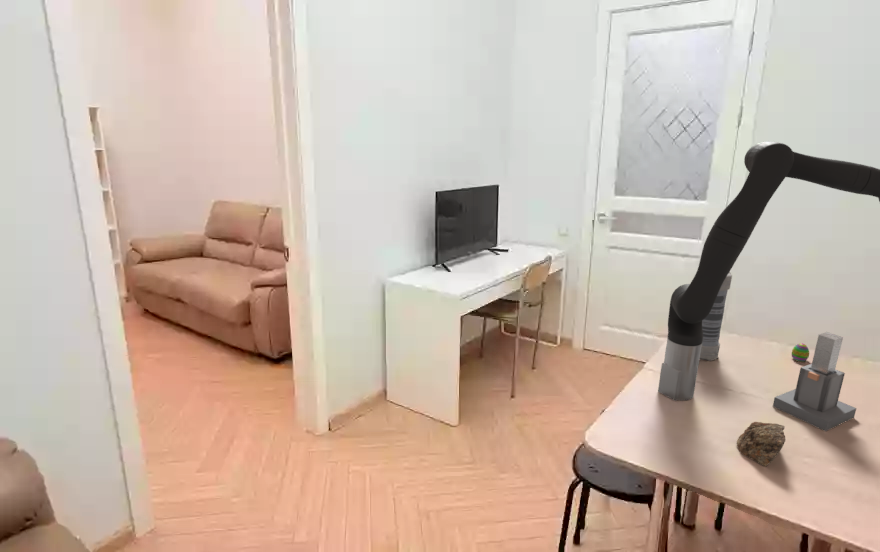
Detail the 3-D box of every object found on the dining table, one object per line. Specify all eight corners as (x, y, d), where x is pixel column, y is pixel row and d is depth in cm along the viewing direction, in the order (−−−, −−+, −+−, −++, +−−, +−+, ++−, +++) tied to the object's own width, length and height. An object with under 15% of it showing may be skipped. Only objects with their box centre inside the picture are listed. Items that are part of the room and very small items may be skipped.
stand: (825, 431, 140) (836, 387, 136) (772, 406, 152) (781, 365, 148) (853, 417, 147) (865, 375, 143) (801, 394, 158) (810, 355, 154)
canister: (720, 362, 178) (735, 277, 170) (687, 358, 181) (700, 274, 172) (715, 350, 188) (729, 269, 179) (684, 346, 190) (696, 266, 182)
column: (818, 407, 145) (835, 340, 140) (802, 400, 149) (817, 334, 143) (827, 403, 147) (844, 337, 142) (811, 396, 151) (826, 331, 145)
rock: (786, 449, 134) (742, 434, 141) (793, 419, 132) (749, 405, 139) (776, 474, 124) (729, 456, 130) (784, 441, 122) (736, 424, 128)
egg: (806, 358, 182) (809, 342, 180) (808, 364, 178) (812, 347, 176) (789, 355, 184) (792, 339, 182) (791, 361, 180) (795, 345, 178)
